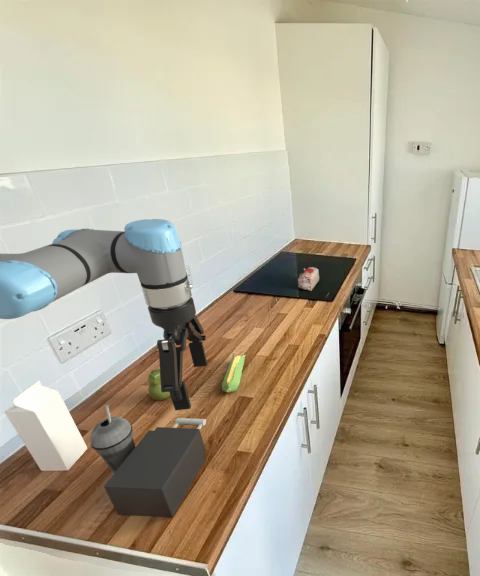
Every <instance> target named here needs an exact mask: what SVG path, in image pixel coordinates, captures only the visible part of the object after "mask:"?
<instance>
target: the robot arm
mask: <svg viewBox="0 0 480 576" xmlns="http://www.w3.org/2000/svg"><path fill="white" fill-rule="evenodd" d="M123 229H124V231H121V230H106V229H94V228H78V229H77V228H75V229H73V228H72V229H66V230H64V231H61V232H60V233H58V234H57V236H56V237H55V238H54V239H53V240H52V243H51V244H48V245H44V246H41V247H38V248H35V249H32V250H29V251H26V252H22V253H20V252H19V253H0V320H14V319H19V318H22V317H25V316H26V315H29V314H30V313H33V312H34V313H35V312H38V311H40V310H42V309H44V308H47V307H48V306H49V305H50V304H51V303H53V302H56V301H57V300H60V299H61V298H63V297H65V296H67V295H69V294H71V293H73V292H74V291H76V290H78V289H80V288H82V287H84V286H86V285H88V284H90V283H92V282H94V281H96V280H99V279H101V277H104V276H105V275H107V274H113V273H114V274H137V277H138V280H139V283H140V287H141V290H142V291H141V292H142V294H143V298H144V301H145V304H146V305H147V310H148V313H149V317H150V320H151V323H152V324H153V325H154V326H155V327H156V326H157V327H159V328H161V329H163V333H162V335H163V336H162V337H163V339H157V342H156V345H157V350H158V357H159V358H158V359H159V369H160V379H161V392H170V398H171V401H172V405H173V407H174V411H175V412H176V411H182V410H191V407H192V404H191V400H190V397H189V393H188V390H187V386H186V382H185V381H183V364H184V363H183V362H184V352H185V351H186V349H187V341H189V343H188V348H189V352H190V356H191V360H192V364H193V367H194V368H200V367H207V366H208V360H207V356H206V352H205V348H204V343H203V341H206V340H207V336H206V335H205V334H204V333H205V330H204V328H203V326H202V324H201V323H200V321H199V319H198V317H197V310H196V305H195V302H194V298H193V297H192V289H193V286H194V285H193V284H191V283H190V282H189V277H188V272H187V269H186V265H185V259H184V254H183V249H182V247H183V246H182V242H181V241H180V238H179V234H178V231H177V228H176V226H175V224H174V223H173V222H172V221H169V220H167V219H163V218H151V219H147V218H145V219H138V220H134V221H130V222H128V223H126V224H125V226H124V227H123ZM203 334H204V335H203Z"/></svg>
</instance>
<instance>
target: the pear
mask: <svg viewBox="0 0 480 576" xmlns="http://www.w3.org/2000/svg"><path fill="white" fill-rule="evenodd" d="M147 381H148V384H149V385H148V387H147V388H148V394H149V396H150V397H151V398H152V399H153V400H155V401H164V400H166V399H168V398H169V397H171V395H170V392H161V379H160V368H154V369H151V372H149V374H148V377H147Z"/></svg>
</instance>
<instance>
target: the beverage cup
mask: <svg viewBox="0 0 480 576" xmlns="http://www.w3.org/2000/svg"><path fill="white" fill-rule="evenodd" d="M104 408H105V412H106V416H107V418H105V419H102V420H101V421H100V422H98V423H97V424H96V425H95V426H94V427H93V429H92V430H91V432H90V438H89V439H90V446H91V448H92V449H94V451H95V452H96V453H98V454H99V455H100V457H101V458H102V460H103V461H104V462H105V464H106V465H107V467H108V468H109V469H110V471H111V473H112V475H113V474H114V473H115V472H116V471H117V469H118V468H119V467H120V466H121V464H122V463H123V462H124V461H125V459H126V458H127V457H128V456H129V454H130V453H131V452H132V451H133V449H134V448H135V447H136V444H135V441H134V437H133V425H132V424H131V423H130V422H129V421H128V420H127V419H125V418H123V417H122V416H111V412H110V408H109V405H108V404H106V405H104Z"/></svg>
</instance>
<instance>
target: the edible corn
mask: <svg viewBox="0 0 480 576" xmlns="http://www.w3.org/2000/svg"><path fill="white" fill-rule="evenodd" d="M245 359H246V354H243V355H236V356H235V353H233V354H232V357H231V359H230V363H229V365H228V367H227V370H226V373H225V374H224V377H223V379H222V383H221V388H222V389H221V390H222V391H223V392H224V393H234V392H236V391H238V390H239V387H240V384H241V378H242V374H243V368H244V364H245V361H246V360H245Z"/></svg>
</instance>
